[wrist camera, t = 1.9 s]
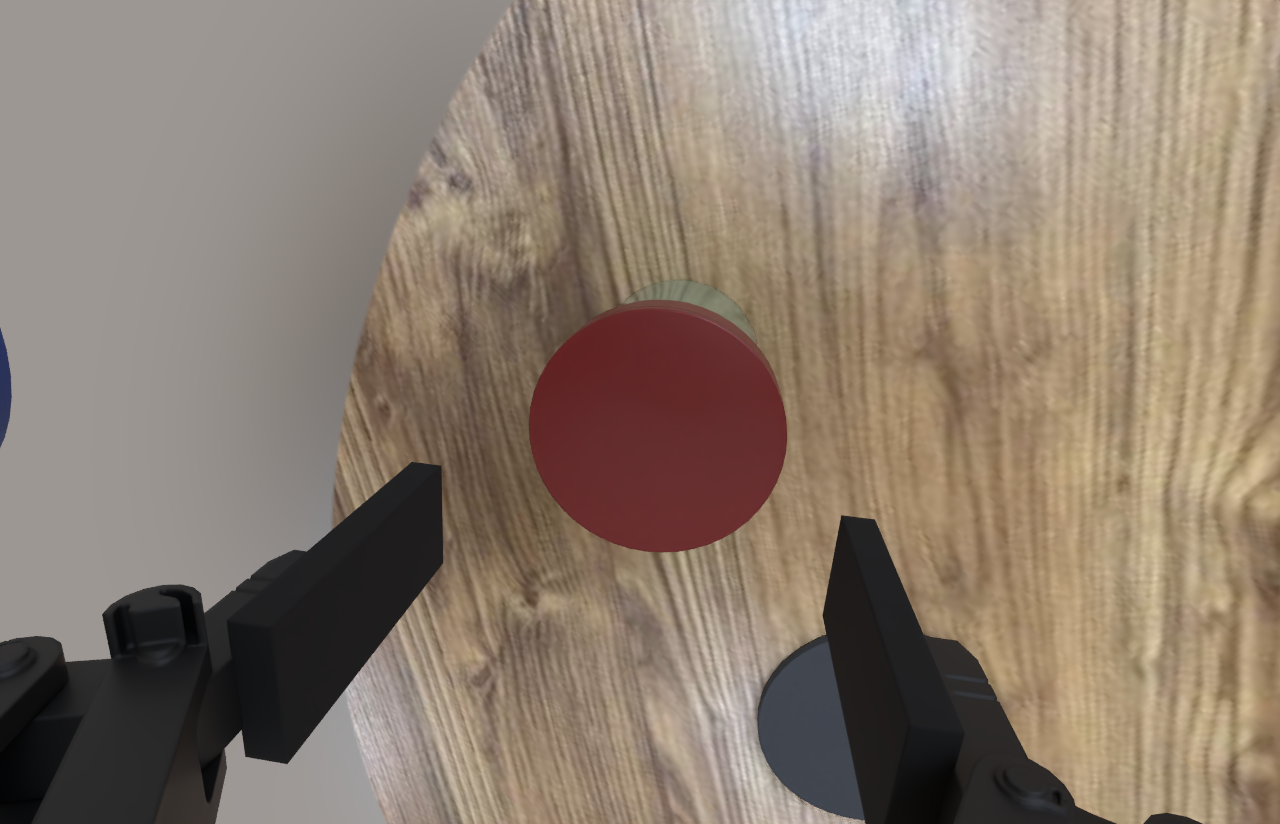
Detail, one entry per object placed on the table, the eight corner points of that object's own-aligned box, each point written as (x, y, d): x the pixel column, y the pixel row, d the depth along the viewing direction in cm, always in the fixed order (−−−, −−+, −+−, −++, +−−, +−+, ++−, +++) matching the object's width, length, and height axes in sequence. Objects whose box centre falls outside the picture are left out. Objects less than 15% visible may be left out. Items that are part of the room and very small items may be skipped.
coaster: (744, 793, 42) (744, 801, 41) (773, 611, 37) (774, 617, 37) (965, 828, 40) (969, 837, 40) (1021, 644, 36) (1026, 652, 36)
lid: (539, 513, 27) (525, 536, 25) (546, 287, 24) (531, 296, 22) (765, 541, 26) (768, 567, 24) (800, 311, 23) (806, 322, 21)
